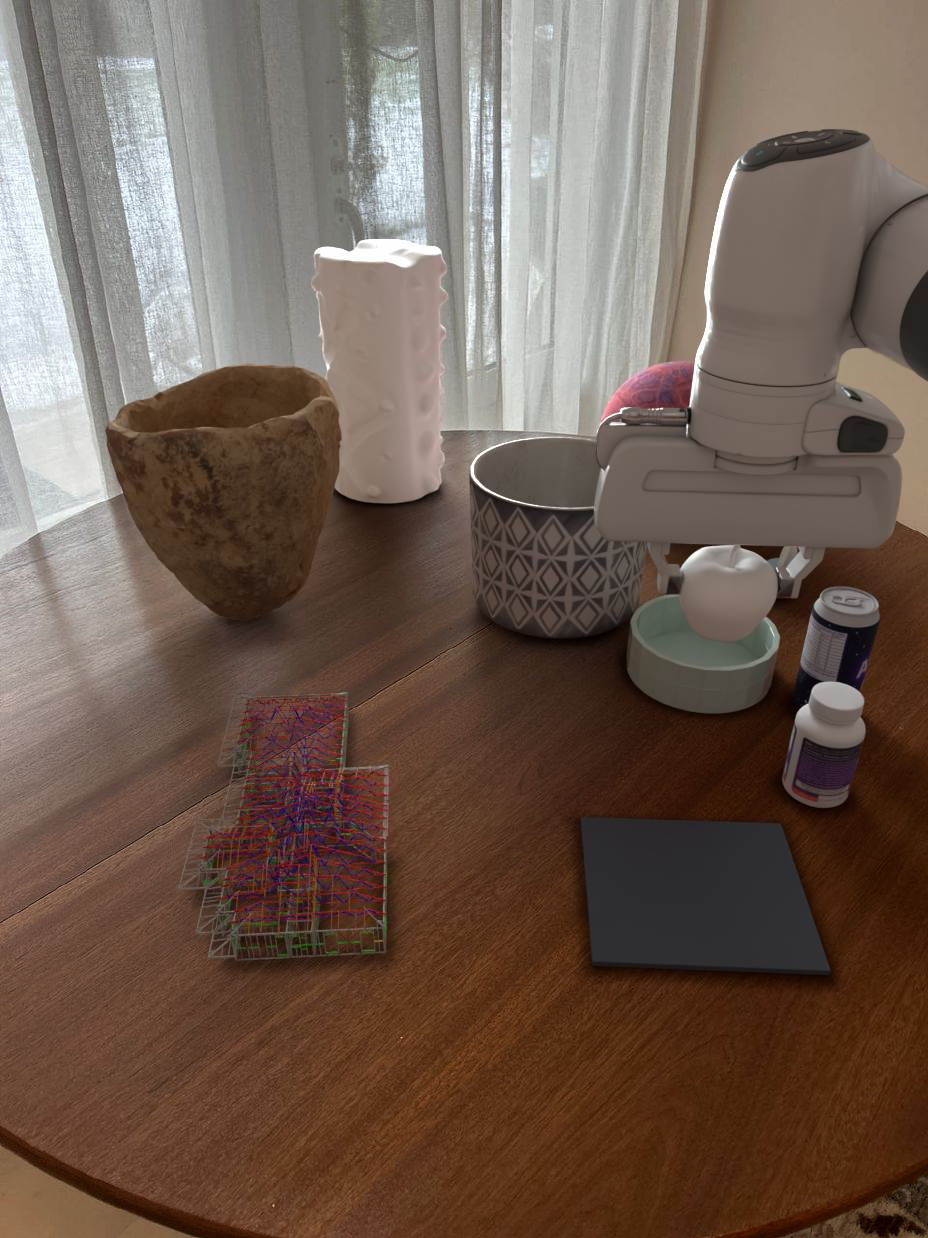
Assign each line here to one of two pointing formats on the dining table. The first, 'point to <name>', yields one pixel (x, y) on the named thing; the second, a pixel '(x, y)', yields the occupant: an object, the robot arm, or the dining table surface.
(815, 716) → the pill bottle
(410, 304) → the vase
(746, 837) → the mat
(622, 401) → the decorative sphere
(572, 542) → the planter
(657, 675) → the fruit bowl
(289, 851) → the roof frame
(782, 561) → the pacifier
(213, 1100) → the dining table surface
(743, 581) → the plain white apple
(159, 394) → the bowl
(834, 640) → the beverage can
